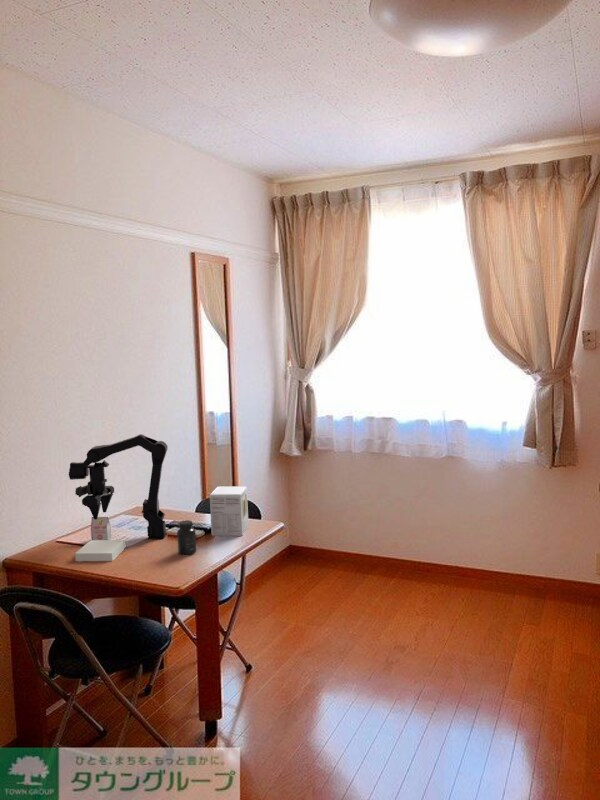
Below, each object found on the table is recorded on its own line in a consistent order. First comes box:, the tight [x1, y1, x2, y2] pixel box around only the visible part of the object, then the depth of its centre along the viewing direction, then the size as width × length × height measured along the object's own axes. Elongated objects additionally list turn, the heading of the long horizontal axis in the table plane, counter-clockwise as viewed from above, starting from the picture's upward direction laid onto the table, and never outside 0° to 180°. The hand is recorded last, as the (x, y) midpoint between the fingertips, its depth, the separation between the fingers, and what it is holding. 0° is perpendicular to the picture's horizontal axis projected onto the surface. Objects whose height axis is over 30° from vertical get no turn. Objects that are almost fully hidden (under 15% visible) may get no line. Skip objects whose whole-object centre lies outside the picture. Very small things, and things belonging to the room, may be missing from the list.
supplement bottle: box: [176, 519, 197, 556], centre depth 227 cm, size 7×7×12 cm
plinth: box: [74, 539, 127, 562], centre depth 229 cm, size 14×14×3 cm
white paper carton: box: [90, 516, 112, 540], centre depth 244 cm, size 4×7×10 cm, turn 86°
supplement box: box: [209, 485, 249, 537], centre depth 251 cm, size 13×13×18 cm
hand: (100, 515), depth 243 cm, fingers open, 9 cm apart
